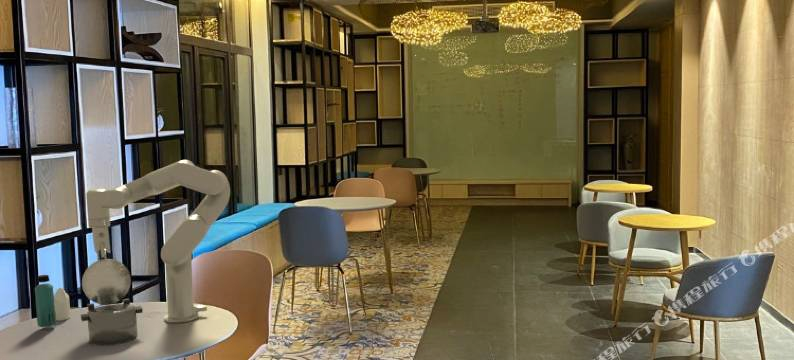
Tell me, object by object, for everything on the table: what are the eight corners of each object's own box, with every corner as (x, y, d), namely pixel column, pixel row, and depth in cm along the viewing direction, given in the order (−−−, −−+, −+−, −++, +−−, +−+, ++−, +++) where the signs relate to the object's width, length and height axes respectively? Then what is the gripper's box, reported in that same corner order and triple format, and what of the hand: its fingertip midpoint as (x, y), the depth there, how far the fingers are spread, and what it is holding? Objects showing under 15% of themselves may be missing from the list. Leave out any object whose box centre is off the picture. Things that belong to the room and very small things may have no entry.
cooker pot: (139, 327, 285) (137, 297, 284) (147, 339, 270) (145, 307, 269) (80, 336, 276) (78, 305, 275) (85, 349, 261) (83, 316, 260)
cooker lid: (132, 301, 283) (131, 300, 286) (128, 256, 284) (127, 256, 287) (84, 307, 275) (83, 307, 278) (80, 261, 276) (79, 261, 279)
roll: (56, 290, 295) (48, 288, 299) (58, 321, 296) (51, 319, 300) (71, 287, 300) (63, 285, 303) (73, 317, 301) (66, 315, 304)
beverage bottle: (49, 331, 283) (45, 277, 281) (33, 330, 284) (29, 277, 282) (60, 326, 289) (56, 273, 287) (44, 325, 291) (40, 273, 289)
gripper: (112, 224, 283) (115, 273, 284) (107, 219, 296) (111, 266, 298) (90, 226, 279) (94, 276, 281) (86, 220, 293) (90, 268, 294)
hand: (102, 271), depth 289 cm, fingers closed
